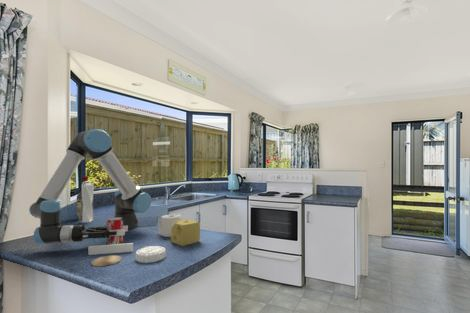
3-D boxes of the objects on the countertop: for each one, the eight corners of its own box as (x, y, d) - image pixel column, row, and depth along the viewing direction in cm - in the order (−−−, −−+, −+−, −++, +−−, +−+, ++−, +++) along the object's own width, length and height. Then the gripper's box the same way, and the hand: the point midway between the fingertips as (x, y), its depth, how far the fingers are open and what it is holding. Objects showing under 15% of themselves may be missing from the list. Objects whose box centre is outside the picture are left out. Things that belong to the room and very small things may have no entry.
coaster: (116, 254, 116) (116, 253, 116) (125, 261, 108) (125, 260, 108) (88, 261, 109) (88, 260, 109) (95, 268, 101) (95, 267, 101)
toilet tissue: (182, 235, 144) (182, 217, 145) (159, 238, 141) (159, 218, 141) (180, 231, 155) (180, 213, 155) (158, 233, 151) (158, 215, 151)
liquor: (85, 216, 200) (85, 176, 201) (95, 217, 197) (95, 176, 198) (74, 219, 192) (74, 177, 192) (84, 220, 189) (84, 177, 189)
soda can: (103, 247, 126) (103, 219, 126) (112, 243, 133) (112, 216, 133) (117, 248, 125) (117, 220, 125) (125, 243, 132) (125, 217, 132)
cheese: (170, 242, 133) (170, 222, 134) (188, 237, 141) (188, 218, 141) (182, 246, 126) (182, 225, 126) (200, 241, 134) (200, 221, 134)
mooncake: (153, 251, 121) (153, 243, 121) (171, 256, 114) (171, 247, 114) (129, 259, 111) (129, 250, 111) (147, 265, 104) (147, 256, 104)
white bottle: (82, 221, 185) (82, 180, 186) (95, 220, 187) (95, 180, 187) (78, 224, 177) (78, 181, 177) (91, 223, 178) (91, 181, 179)
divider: (133, 250, 121) (132, 242, 121) (132, 251, 120) (132, 243, 120) (89, 254, 117) (89, 245, 117) (88, 254, 116) (88, 246, 116)
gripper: (81, 235, 135) (130, 232, 139) (64, 248, 116) (121, 244, 120) (81, 220, 135) (129, 218, 139) (64, 230, 116) (121, 227, 120)
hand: (126, 230), depth 130 cm, fingers closed on soda can, 6 cm apart
